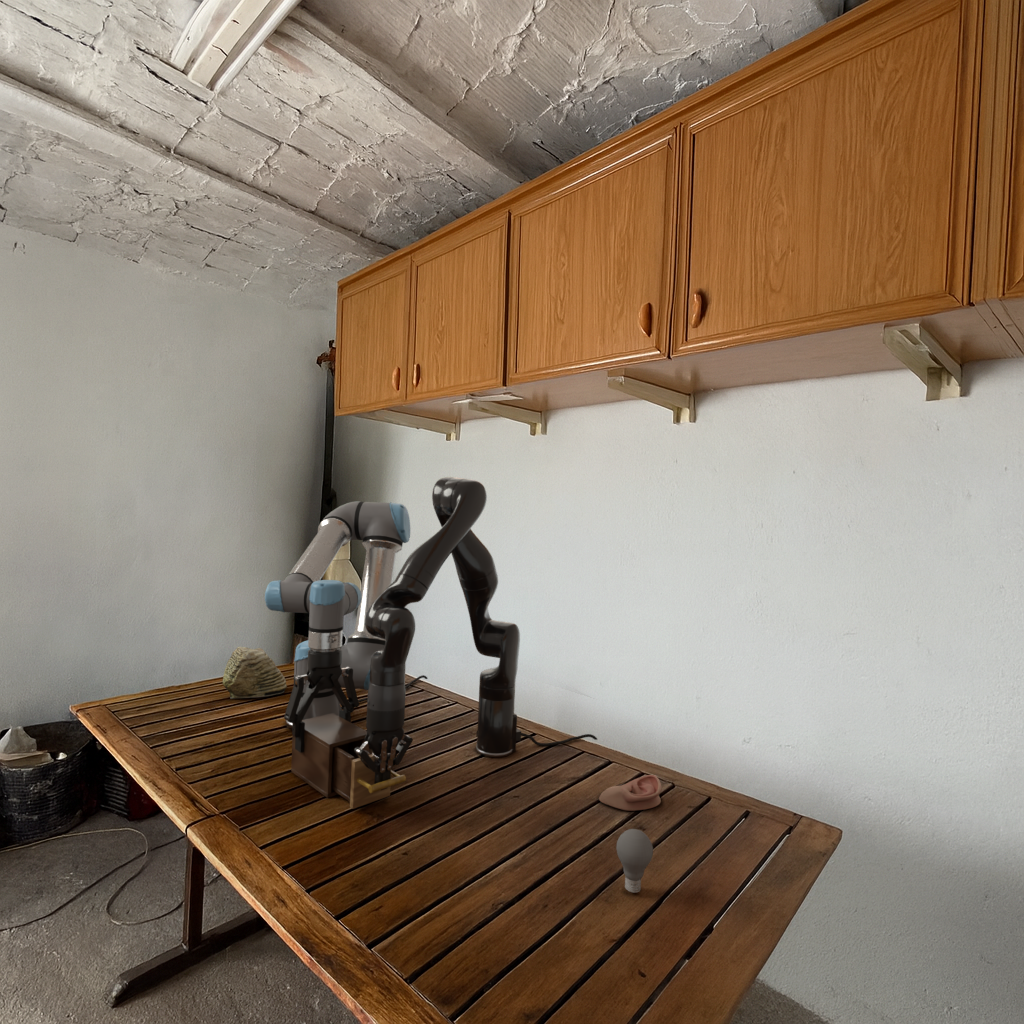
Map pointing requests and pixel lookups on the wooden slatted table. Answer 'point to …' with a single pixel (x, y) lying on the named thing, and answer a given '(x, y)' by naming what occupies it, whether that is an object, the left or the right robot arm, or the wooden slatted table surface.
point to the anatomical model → (634, 794)
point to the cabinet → (322, 749)
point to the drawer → (358, 777)
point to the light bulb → (634, 857)
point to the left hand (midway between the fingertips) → (321, 744)
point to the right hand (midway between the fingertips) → (382, 787)
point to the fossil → (252, 674)
